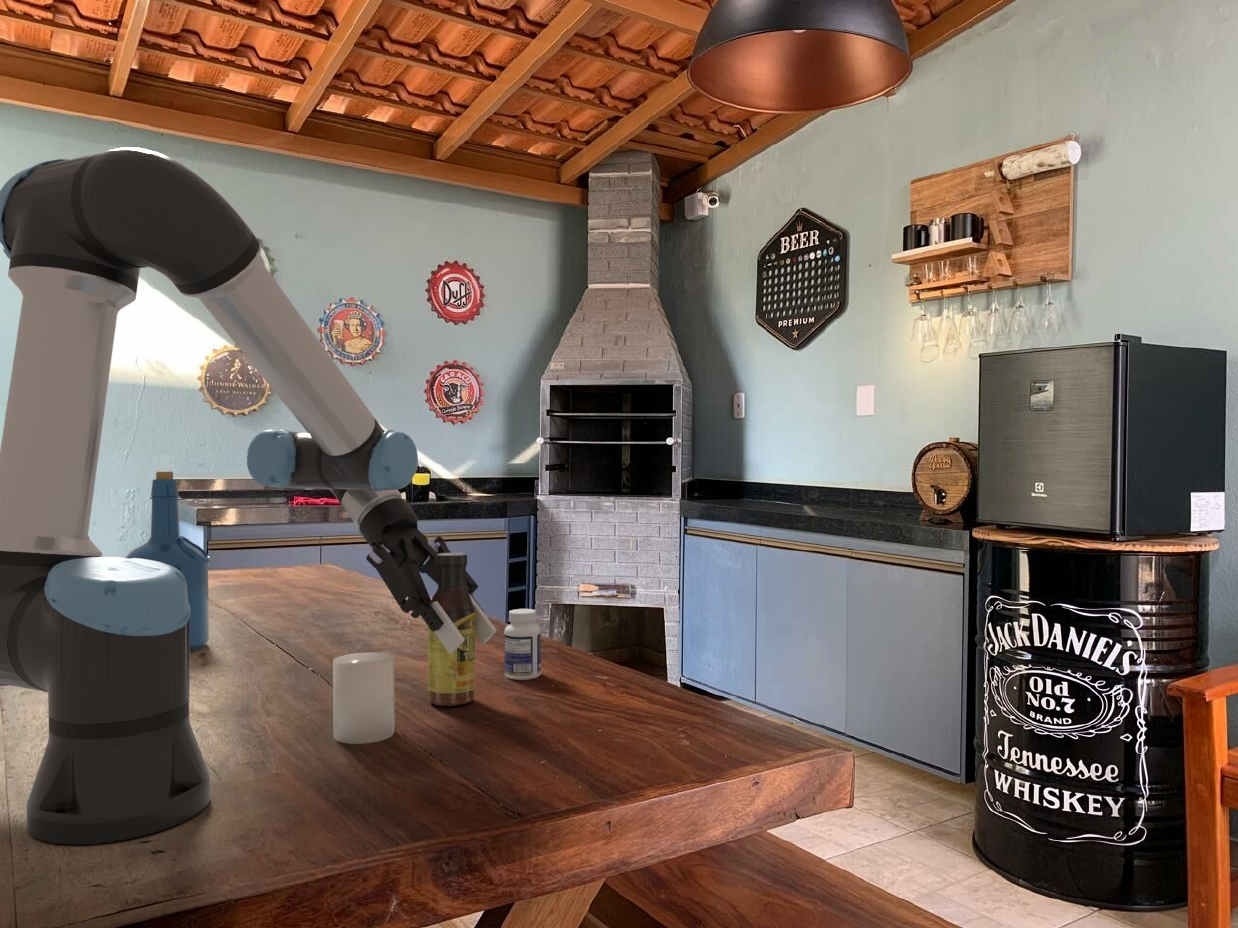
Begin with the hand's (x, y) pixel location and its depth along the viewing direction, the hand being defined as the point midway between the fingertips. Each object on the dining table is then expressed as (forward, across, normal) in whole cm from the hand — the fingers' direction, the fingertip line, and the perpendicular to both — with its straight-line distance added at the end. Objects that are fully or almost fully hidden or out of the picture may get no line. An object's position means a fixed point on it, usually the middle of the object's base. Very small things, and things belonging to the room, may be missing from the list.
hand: (473, 641), depth 123 cm
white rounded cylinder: (+3, +16, -9) cm, 19 cm away
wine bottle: (-41, -2, -53) cm, 67 cm away
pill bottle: (+4, -16, -9) cm, 19 cm away
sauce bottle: (+4, 0, -9) cm, 9 cm away
